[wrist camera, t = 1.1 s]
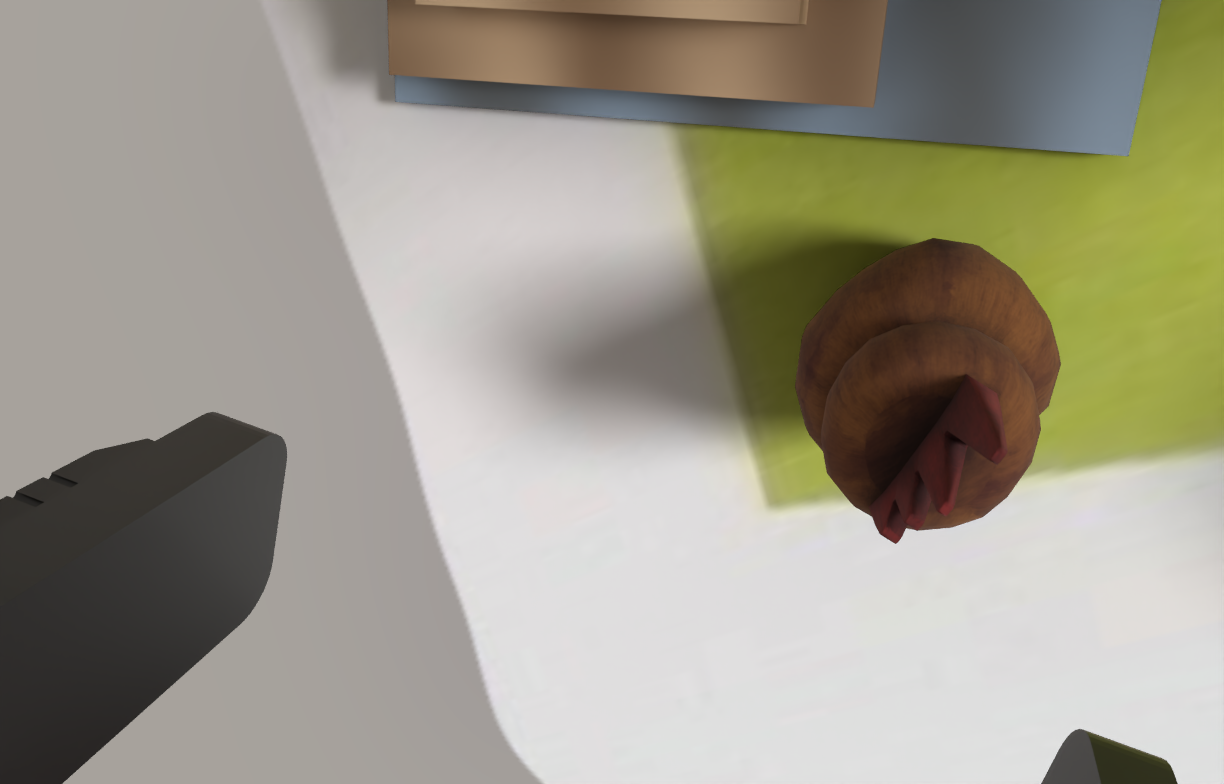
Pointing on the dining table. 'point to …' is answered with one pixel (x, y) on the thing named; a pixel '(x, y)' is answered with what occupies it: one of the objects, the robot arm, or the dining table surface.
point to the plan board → (922, 81)
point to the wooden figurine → (928, 385)
